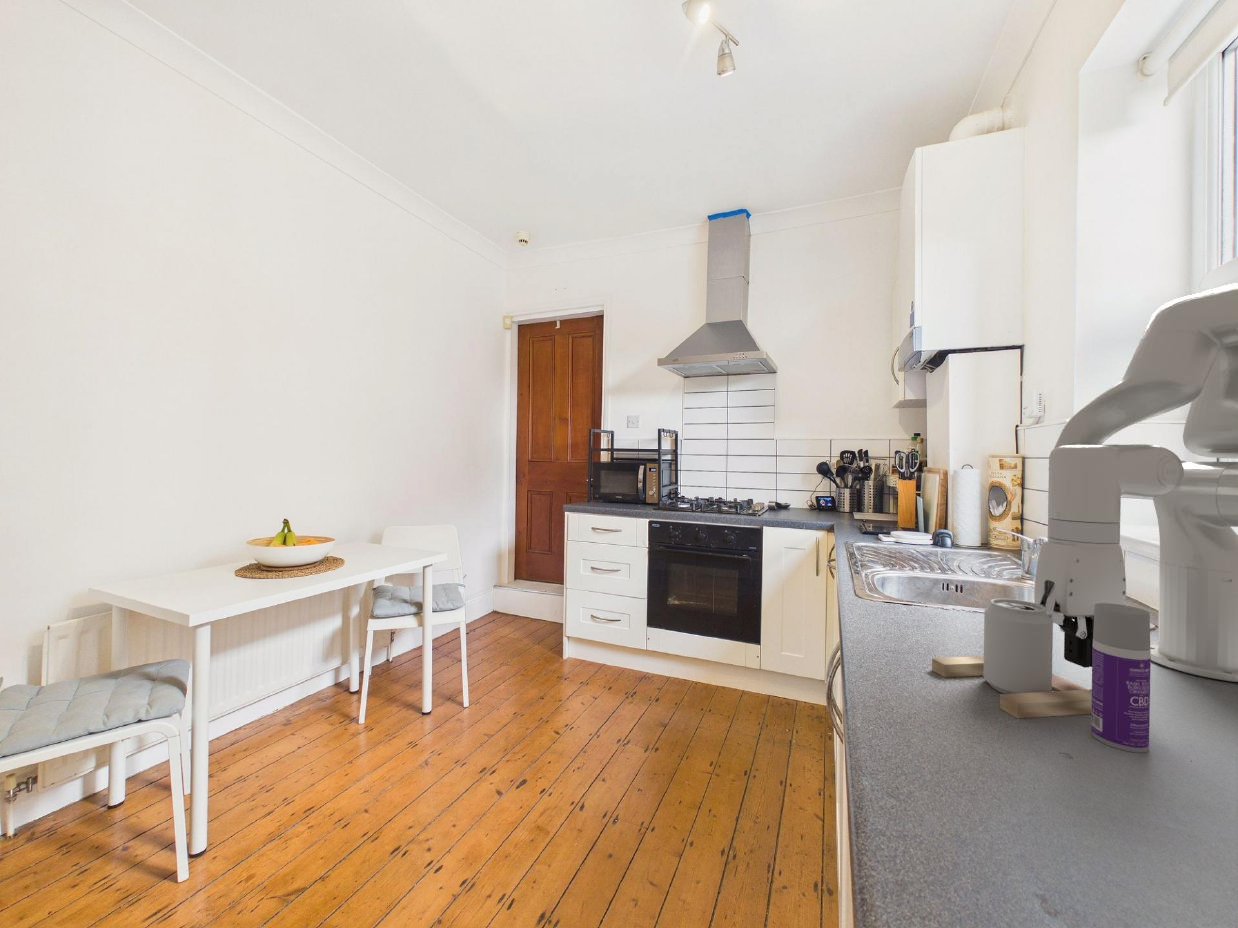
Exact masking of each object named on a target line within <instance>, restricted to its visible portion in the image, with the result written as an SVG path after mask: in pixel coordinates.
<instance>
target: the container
mask: <svg viewBox="0 0 1238 928" xmlns="http://www.w3.org/2000/svg"><path fill="white" fill-rule="evenodd" d="M1150 616H1151V614H1150V612H1149V610H1148V611H1147V610H1146V609H1143V608H1139V607H1135V606H1131V605H1126V604H1125V605H1119V604H1109V603H1098V604H1095V609H1094V629H1093V646H1092V667H1091V689H1092V709H1091V714H1090V717H1091V718H1090V719H1091V720H1090V723H1091V724H1090V731H1091V732H1090V734H1091V736H1092V737H1093V738H1095V740H1097V741H1098V742H1101V743H1103V744H1104V745H1107V746H1109V747H1112V748H1113V749H1118V750H1122V751H1124V752H1125V751H1126V752H1131V753H1146V752H1148V751H1149V750H1150V718H1151V717H1150V709H1151V707H1150V706H1151V704H1150V703H1151V666H1152V665H1151V661H1152V660H1151V651H1150V645H1151V617H1150Z"/></svg>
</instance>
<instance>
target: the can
mask: <svg viewBox="0 0 1238 928" xmlns="http://www.w3.org/2000/svg"><path fill="white" fill-rule="evenodd" d="M989 603H990V605H989V606H988V607H986V608H985V609H984V611H983V612H984V614H983V618H984V620H983V621H984V622H983V624H984V625H983V627H984V628H983V656H984V672H983V675H982V677H983V679H984V680H985V681H986V682H987V683H988V684H989V686H991V688H993V689H994V690H995V691H998V692H999V693H1000V692H1001V693H1002V694H1016V693H1035V692H1053V689H1052V674H1053V644H1054V643H1053V641H1054V639H1053V638H1054V637H1053V635H1054V633H1053V632H1054V623H1053V620H1052V619H1051V618H1050V617H1049V616H1048V615H1047V614H1046V611H1047V608H1046V607H1044V606H1042V605H1039V604H1036V603H1035V602H1032V601H1028V600H1023V599H1014V598H1000V597H999V598H993V599H990V600H989Z"/></svg>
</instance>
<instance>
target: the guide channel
mask: <svg viewBox="0 0 1238 928" xmlns="http://www.w3.org/2000/svg"><path fill="white" fill-rule="evenodd" d="M931 671H933V672H935V673H937V674H938V675H940V676H942V677H943V678H951V677H952V678H955V677H974V676H975V677H976V676H983V672H984V655H976V656H951V657H948V656H947V657H932V659H931ZM999 709H1000V710H1002V711H1003V712H1006V713H1008V714H1010V715H1011V716H1012V717H1015V718H1016V719H1026V718H1027V719H1028V718H1045V717H1060V716H1061V717H1063V716H1075V715H1076V716H1078V715H1079V716H1080V715H1091V709H1092V688H1091V689H1088V688H1085V687H1083V686H1082V685H1078V684H1076V683H1074V682H1072V681H1070V680H1067V679H1064V678H1062V677H1060V676H1058V675H1056V674H1053V673H1052V692H1035V693H1016V694H1004V693H1002V694H1001V693H1000V694H999Z"/></svg>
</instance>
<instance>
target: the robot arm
mask: <svg viewBox="0 0 1238 928" xmlns="http://www.w3.org/2000/svg"><path fill="white" fill-rule="evenodd" d="M1188 404H1190V406H1189V409H1188V413H1187V415H1186V420H1185V423H1184V427H1183V428H1184V429H1183V431H1182V432H1183V433H1182V440H1183V441H1182V442H1183V444H1184V447H1185V448H1186V450H1187V451H1189V452H1190V453H1192V454H1194V455H1196V456H1200V457H1205V458H1211V459H1212V458H1215V459H1238V283H1233V284H1228V285H1223V286H1220V287H1217V288H1213V289H1209V290H1206V291H1203V292H1201V293H1196V294H1192V295H1187V296H1183V297H1180V298H1176V299H1174V300H1172V301H1169V302H1167V303H1164V305H1162V306H1160V307H1159V308H1158V309H1157V310H1156V311H1155V312H1154V313H1153V314H1152V316H1151V317H1150V319H1149V321H1148V324H1147V325H1146V328H1145V330H1144V332H1143V334H1142V336H1141V337H1140V340H1139V342H1138V344H1137V347H1136V349H1135V351H1134V354H1133V355H1132V358H1131V360H1130V362H1129V364H1128V366H1127V368H1126V371H1125V373H1124V376H1123V378H1122V379H1121V380H1120V381H1119V382H1118V383H1117V384H1115V385H1113V386H1112V387H1110V388H1108V389H1107V390H1105V391H1104V392H1103V393H1101V394H1100V395H1098V396H1097V397H1096V398H1094V399H1093V400H1092V401H1091V402H1089V403H1087V404H1086V405H1085V406H1084V407H1082V408H1081V409H1080V410H1079V411H1078V412H1076V413H1075V414H1074V415H1073V416H1072V417H1071V418H1070V419H1069V420H1068V421H1067V423H1066V424H1065V425H1064V427H1063V429H1062V431H1060V432H1061V433H1060V434H1059V437H1058V438H1057V441H1056V443H1055V446H1054V447H1053V449H1052V450H1051V451H1050V454H1049V457H1048V458H1049V459H1048V489H1047V490H1048V493H1047V494H1048V497H1047V499H1048V500H1047V501H1048V503H1047V506H1048V507H1047V540H1043V541H1042V544H1041V546H1040V549H1039V554H1038V559H1037V564H1036V570H1035V581H1034V591H1033V593H1034V596H1033V597H1034V599H1033V600H1034V602H1033V603H1036V604H1039V605H1042V606H1044V607H1046V608H1047V611H1046V614H1047V615H1048V616H1049V617H1050V618H1051V619H1052V620H1053V624H1056V625H1058V627H1059V631H1060V632H1061V633H1063V635H1064V642H1063V658H1064V660H1065V661H1067V662H1070V663H1071V664H1075V665H1077V666H1080V667H1082V668H1092V646H1093V629H1094V609H1095V604H1098V603H1109V604H1119V605H1126V602H1127V578H1126V577H1127V575H1126V568H1125V560H1124V554H1123V550H1122V546H1121V511H1122V510H1121V504H1122V503H1121V500H1122V499H1121V498H1135V499H1152V501H1153V502H1152V503H1153V505H1154V509H1155V512H1156V513H1155V514H1156V517H1157V524H1158V535H1159V565H1158V566H1159V570H1158V572H1159V573H1158V575H1159V576H1158V577H1159V578H1158V581H1159V582H1158V629H1157V632H1158V634H1157V636H1158V637H1157V644H1150V651H1151V661H1152V662H1154V663H1157V664H1159V665H1161V666H1164V667H1166V668H1170V669H1173V670H1176V671H1180V672H1183V673H1187V674H1190V675H1195V676H1199V677H1204V678H1209V679H1214V680H1220V681H1225V682H1235V683H1238V533H1237V532H1236V531H1235V530H1234V529H1233V528H1237V527H1238V461H1189V462H1182V461H1181V459H1180V457H1179V455H1177V454H1176V453H1175V452H1173V451H1172V450H1170V449H1168V448H1166V447H1162V446H1159V445H1154V444H1145V443H1144V444H1143V443H1142V444H1141V443H1140V444H1136V443H1135V444H1104V443H1105V442H1106V441H1107V440H1108V439H1110V438H1111V437H1112V436H1113V435H1115V434H1117V433H1118V432H1121V431H1122V430H1124V429H1127V428H1128V427H1131V426H1133V425H1136V424H1138V423H1141V422H1143V421H1146V420H1149V419H1152V418H1155V417H1158V416H1160V415H1163V414H1166V413H1169V412H1171V411H1173V410H1176V409H1180V408H1181V407H1183V406H1186V405H1188Z"/></svg>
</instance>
